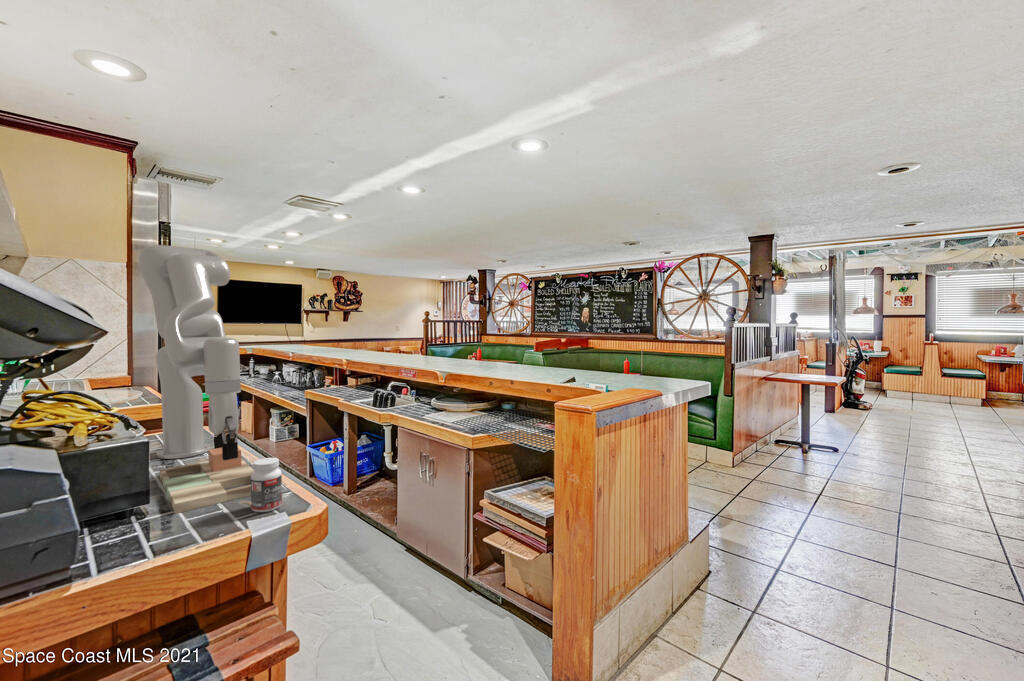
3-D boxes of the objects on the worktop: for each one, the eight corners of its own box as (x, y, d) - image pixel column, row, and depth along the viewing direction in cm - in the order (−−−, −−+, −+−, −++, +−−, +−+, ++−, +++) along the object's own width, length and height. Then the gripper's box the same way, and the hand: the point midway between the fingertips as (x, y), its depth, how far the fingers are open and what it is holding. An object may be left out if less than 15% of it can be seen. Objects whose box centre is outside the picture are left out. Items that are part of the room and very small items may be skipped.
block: (208, 465, 114) (208, 449, 114) (235, 460, 118) (235, 445, 118) (213, 471, 110) (213, 455, 110) (241, 465, 114) (241, 450, 114)
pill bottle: (268, 514, 91) (267, 466, 91) (244, 511, 92) (243, 464, 92) (288, 503, 97) (287, 457, 96) (265, 500, 98) (264, 455, 97)
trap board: (159, 477, 111) (159, 469, 111) (238, 462, 122) (238, 455, 122) (175, 513, 91) (174, 504, 91) (267, 491, 103) (267, 483, 103)
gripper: (199, 385, 116) (201, 451, 117) (212, 392, 104) (215, 465, 105) (232, 382, 122) (234, 445, 122) (249, 389, 109) (251, 458, 110)
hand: (225, 454), depth 113 cm, fingers open, 9 cm apart
